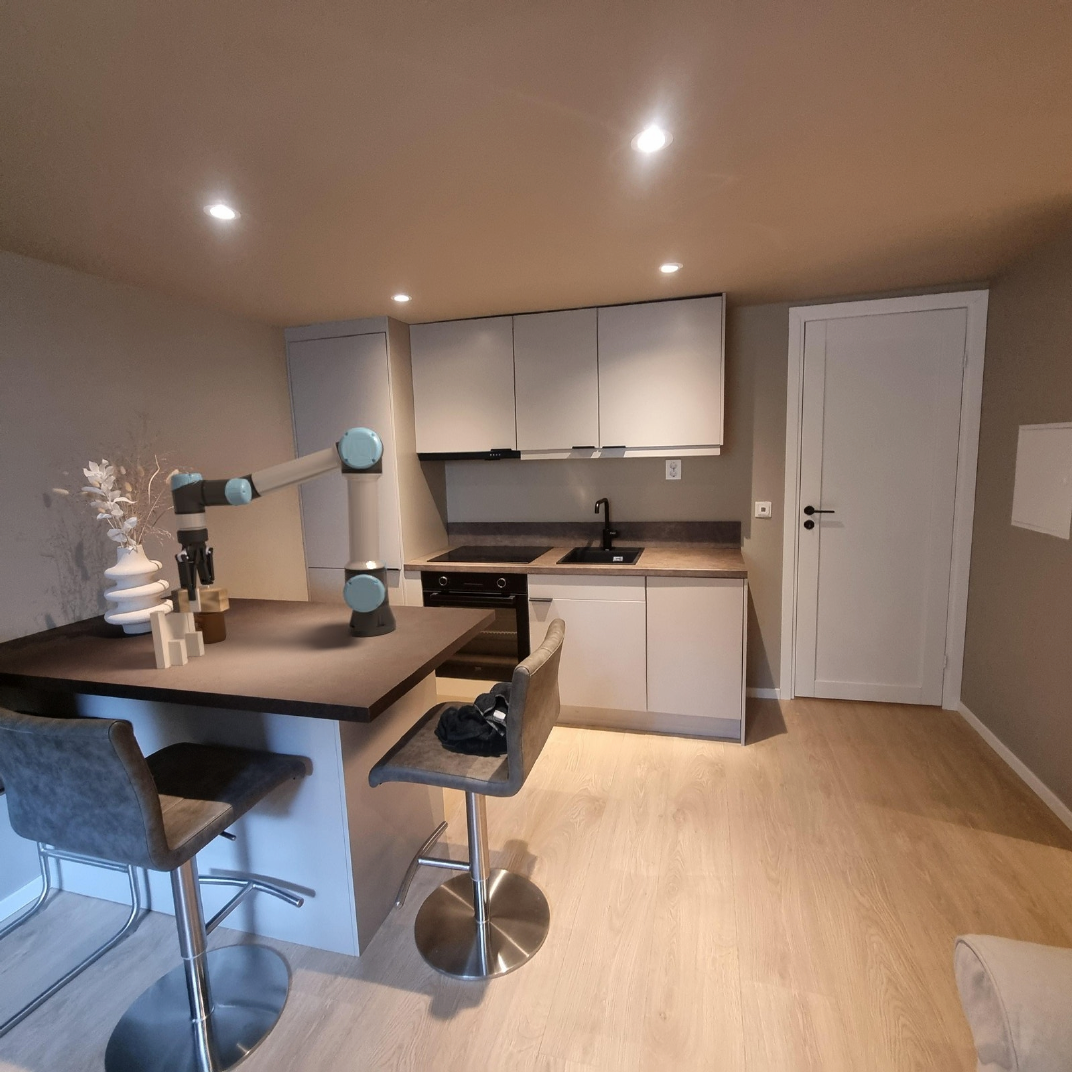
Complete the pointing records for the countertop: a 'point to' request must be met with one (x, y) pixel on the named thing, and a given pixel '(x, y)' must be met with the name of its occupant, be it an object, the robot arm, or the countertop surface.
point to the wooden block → (201, 600)
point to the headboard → (175, 638)
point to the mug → (211, 626)
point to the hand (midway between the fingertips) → (201, 609)
